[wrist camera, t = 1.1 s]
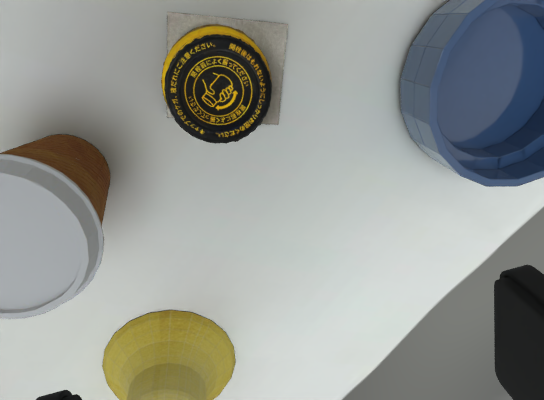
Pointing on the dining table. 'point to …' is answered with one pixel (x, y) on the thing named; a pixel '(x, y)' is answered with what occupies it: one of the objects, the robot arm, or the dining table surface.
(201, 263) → the dining table surface
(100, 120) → the dining table surface
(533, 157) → the bowl
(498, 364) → the robot arm
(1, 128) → the dining table surface
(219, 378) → the handbell
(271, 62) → the condiment
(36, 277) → the disposable coffee cup
